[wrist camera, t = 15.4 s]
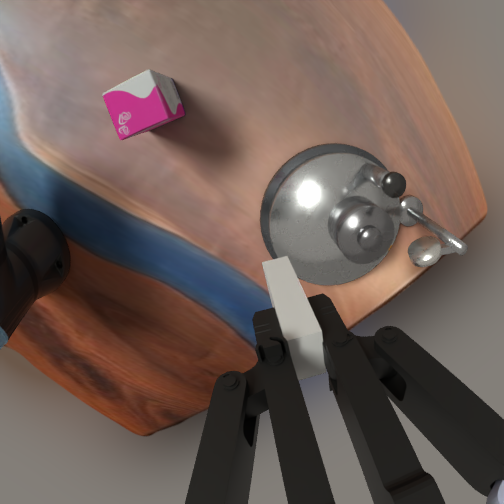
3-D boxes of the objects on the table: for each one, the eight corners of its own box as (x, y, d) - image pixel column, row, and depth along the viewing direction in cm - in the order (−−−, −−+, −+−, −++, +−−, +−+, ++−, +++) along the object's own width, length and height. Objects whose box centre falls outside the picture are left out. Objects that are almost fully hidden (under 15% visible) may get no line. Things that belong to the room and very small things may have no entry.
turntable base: (302, 301, 52) (304, 305, 51) (230, 194, 42) (230, 196, 41) (411, 236, 48) (414, 239, 47) (362, 117, 39) (365, 117, 38)
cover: (318, 236, 43) (331, 257, 37) (344, 186, 40) (362, 199, 34) (361, 255, 45) (378, 275, 39) (387, 209, 42) (408, 225, 36)
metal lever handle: (378, 242, 48) (426, 293, 34) (368, 218, 46) (419, 264, 32) (422, 214, 46) (478, 255, 32) (414, 189, 44) (474, 225, 30)
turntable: (245, 254, 45) (250, 291, 36) (305, 126, 38) (329, 132, 29) (354, 292, 50) (376, 329, 41) (414, 188, 43) (451, 209, 34)
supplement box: (132, 95, 35) (100, 92, 25) (172, 77, 35) (152, 66, 24) (146, 132, 38) (119, 141, 27) (186, 115, 37) (172, 117, 27)
